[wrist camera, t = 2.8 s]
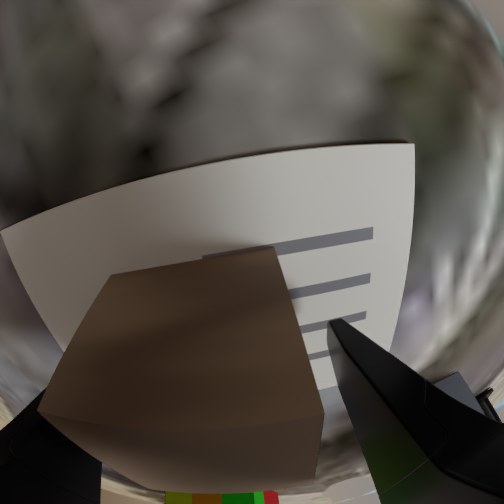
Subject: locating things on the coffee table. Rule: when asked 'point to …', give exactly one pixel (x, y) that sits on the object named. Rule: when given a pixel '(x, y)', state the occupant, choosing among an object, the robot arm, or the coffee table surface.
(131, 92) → the coffee table surface
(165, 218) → the letter
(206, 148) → the coffee table surface
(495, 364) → the coffee table surface
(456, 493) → the robot arm
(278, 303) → the walnut block
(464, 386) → the blue cube
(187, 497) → the puzzle toy
